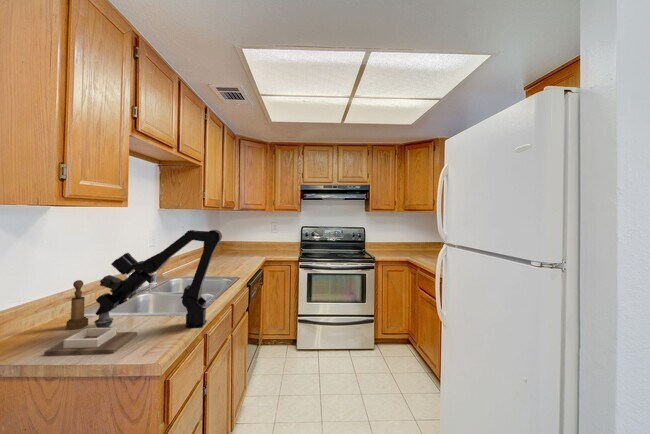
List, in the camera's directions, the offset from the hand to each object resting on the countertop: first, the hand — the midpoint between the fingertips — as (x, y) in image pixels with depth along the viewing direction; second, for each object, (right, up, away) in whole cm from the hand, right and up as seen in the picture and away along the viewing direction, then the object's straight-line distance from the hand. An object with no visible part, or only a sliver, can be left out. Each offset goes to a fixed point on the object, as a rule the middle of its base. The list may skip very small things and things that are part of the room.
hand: (100, 312), depth 109 cm
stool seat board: (+8, -7, -12) cm, 16 cm away
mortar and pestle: (-11, -7, +3) cm, 13 cm away
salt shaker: (+1, -7, 0) cm, 7 cm away
